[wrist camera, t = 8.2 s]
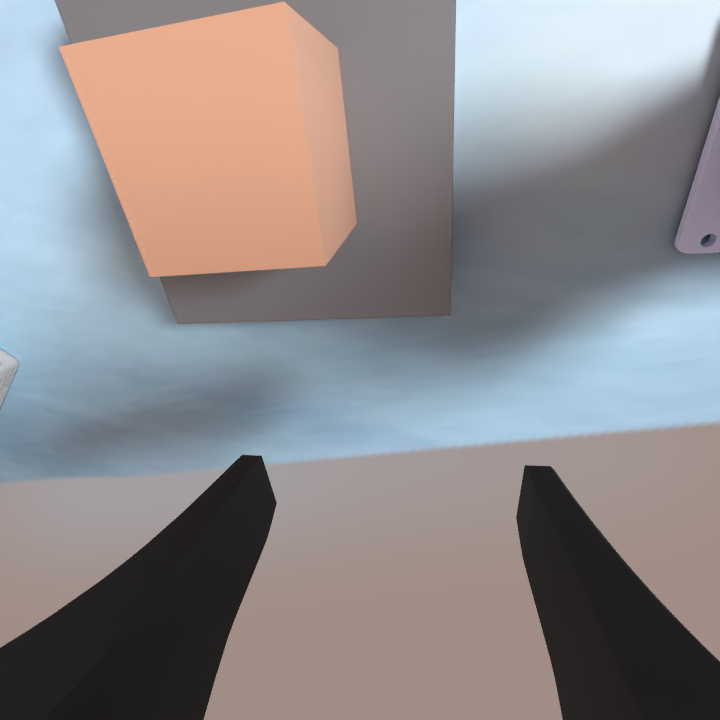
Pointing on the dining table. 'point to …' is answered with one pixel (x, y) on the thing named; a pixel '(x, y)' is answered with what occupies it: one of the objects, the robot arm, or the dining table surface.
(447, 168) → the grey square slab
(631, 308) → the dining table surface
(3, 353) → the light bulb box
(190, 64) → the terracotta block
